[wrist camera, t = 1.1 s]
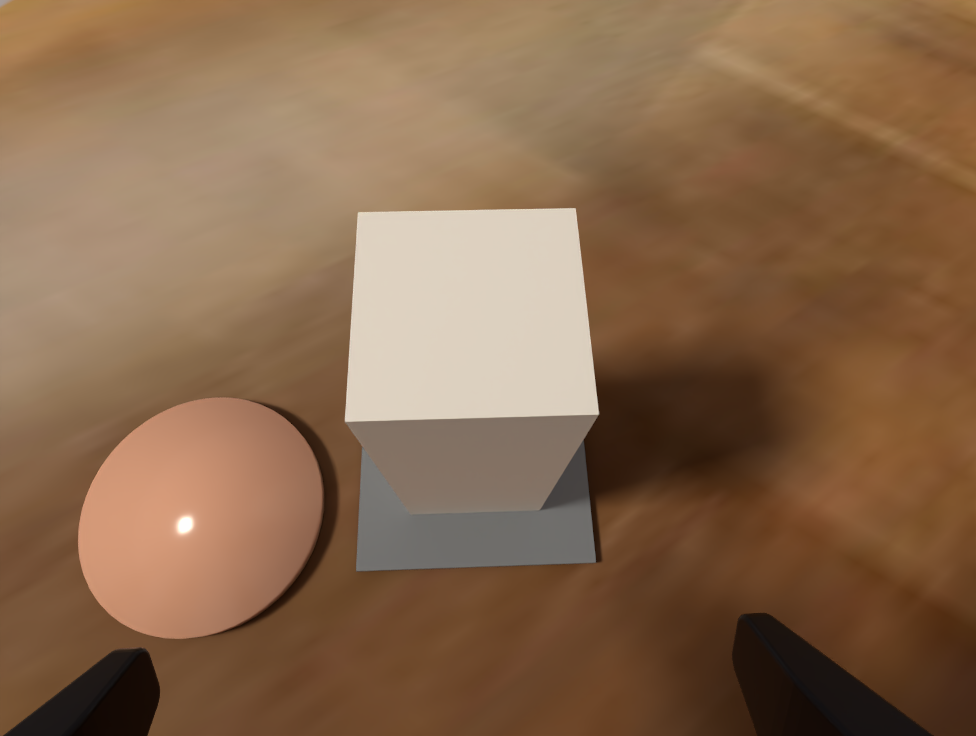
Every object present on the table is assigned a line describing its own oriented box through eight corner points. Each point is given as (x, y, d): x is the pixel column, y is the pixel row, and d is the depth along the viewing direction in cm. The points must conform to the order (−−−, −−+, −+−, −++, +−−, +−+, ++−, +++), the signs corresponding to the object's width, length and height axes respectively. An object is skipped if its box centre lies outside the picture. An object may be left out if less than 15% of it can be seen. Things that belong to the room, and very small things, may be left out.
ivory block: (539, 510, 23) (599, 414, 11) (410, 514, 22) (344, 421, 11) (531, 389, 24) (575, 207, 13) (412, 393, 24) (358, 212, 13)
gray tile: (594, 563, 22) (596, 562, 22) (357, 571, 22) (355, 571, 22) (573, 348, 26) (574, 345, 25) (368, 354, 25) (366, 350, 25)
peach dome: (368, 464, 23) (365, 461, 23) (229, 688, 20) (222, 689, 20) (191, 367, 25) (184, 361, 24) (36, 561, 22) (25, 559, 21)
